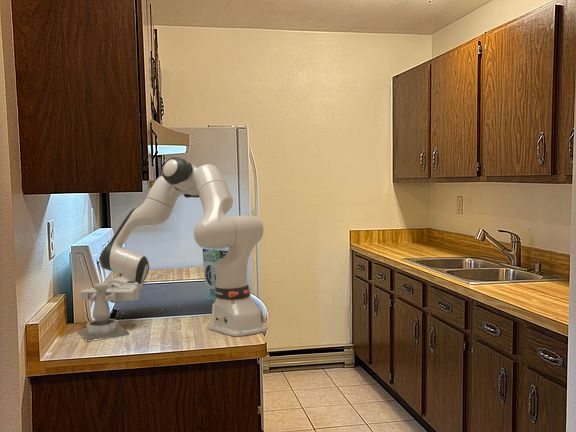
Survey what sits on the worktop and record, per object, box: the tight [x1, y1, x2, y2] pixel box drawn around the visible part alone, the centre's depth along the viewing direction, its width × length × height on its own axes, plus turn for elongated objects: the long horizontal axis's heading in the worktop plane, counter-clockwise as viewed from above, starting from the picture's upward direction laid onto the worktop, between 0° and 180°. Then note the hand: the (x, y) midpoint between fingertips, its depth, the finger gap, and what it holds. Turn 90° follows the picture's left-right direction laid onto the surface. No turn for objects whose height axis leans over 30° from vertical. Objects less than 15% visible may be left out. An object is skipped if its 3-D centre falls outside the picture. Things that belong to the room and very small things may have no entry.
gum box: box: [201, 247, 229, 302], centre depth 237 cm, size 20×5×23 cm, turn 43°
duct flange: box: [76, 318, 130, 341], centre depth 194 cm, size 16×14×4 cm
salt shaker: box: [92, 282, 111, 322], centre depth 194 cm, size 6×6×13 cm
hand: (99, 299), depth 193 cm, fingers closed on salt shaker, 3 cm apart
